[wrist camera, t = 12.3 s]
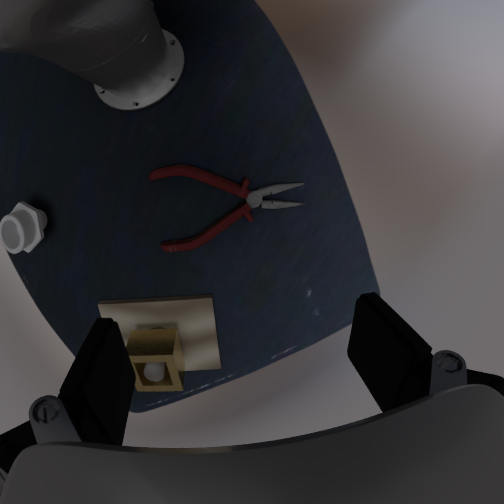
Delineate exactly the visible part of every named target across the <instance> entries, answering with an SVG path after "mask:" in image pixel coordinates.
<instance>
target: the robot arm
mask: <svg viewBox="0 0 504 504" xmlns="http://www.w3.org/2000/svg"><path fill="white" fill-rule="evenodd" d="M153 7H154V3H153V2H151V1H150V0H0V52H16V53H26V54H31V55H35V56H38V57H41V58H44V59H46V60H49V61H51V62H53V63H55V64H57V65H59V66H61V67H63V68H65V69H67V70H69V71H71V72H73V73H75V74H77V75H79V76H81V77H82V78H84V79H86V80H88V81H90V82H92V83H94V87H95V91H96V92H97V94H98V96H99V97H100V99H101V100H102V101H103V102H104V103H106V104H107V105H109V106H111V107H113V108H115V109H119V110H123V111H135V110H141V109H144V108H148V107H150V106H152V105H154V104H156V103H158V102H159V101H161V100H162V99H164V98H165V97H166V96H167V95H168V94H169V93H170V92H172V90H173V89H174V88H175V86H176V85H177V84H178V82H179V80H180V78H181V76H182V73H183V70H184V63H185V59H184V52H183V48H182V46H181V44H180V42H179V41H178V39H177V38H176V37H175V36H174V35H173V34H171V33H170V32H168V31H166V30H164V29H161V26H160V24H159V21H158V19H157V16H156V14H155V11H154V9H153ZM173 43H174V45H172V44H173ZM172 79H175V80H174V81H173V82H172V81H171V80H172ZM104 91H105V93H104V94H103V92H104ZM136 103H139V105H138V106H136ZM431 350H432V348H431V346H430V345H428V343H427V342H425V340H424V339H423V338H422V337H421V336H420V335H419V334H418V333H417V332H416V331H415V330H414V329H413V328H412V327H411V326H410V325H409V324H408V323H407V322H406V321H404V320H403V318H401V317H400V316H399V315H398V314H397V313H396V312H395V311H394V310H393V309H392V308H391V307H390V306H389V305H388V304H387V303H386V302H385V301H384V300H383V299H382V298H381V297H380V296H379V295H377V294H376V293H375V292H372V293H366V294H362V295H361V296H360V298H358V299H357V300H356V305H355V311H354V317H353V323H352V329H351V334H350V340H349V344H348V349H347V354H348V357H349V359H350V361H351V362H352V364H353V365H354V367H355V369H356V370H357V372H358V373H359V375H360V377H361V378H362V380H363V381H364V383H365V385H366V386H367V388H368V389H369V391H370V392H371V394H372V396H373V398H374V399H375V401H376V402H377V404H378V405H379V407H380V409H381V411H382V412H383V413H380V414H377V415H375V416H372V417H369V418H366V419H362V420H359V421H356V422H353V423H349V424H346V425H342V426H339V427H335V428H331V429H327V430H323V431H319V432H314V433H310V434H306V435H301V436H296V437H291V438H285V439H279V440H274V441H267V442H260V443H253V444H244V445H234V446H223V447H207V448H149V447H148V448H147V447H131V446H122V443H123V438H124V433H125V427H126V422H127V417H128V413H129V408H130V404H131V399H132V395H133V391H134V386H135V382H136V374H135V371H134V368H133V365H132V363H131V360H130V357H129V355H128V352H127V349H126V346H125V343H124V340H123V337H122V334H121V331H120V328H119V325H118V323H117V322H116V321H114V320H113V319H112V318H97V319H96V321H95V323H94V325H93V326H92V328H91V330H90V332H89V334H88V335H87V337H86V339H85V341H84V343H83V345H82V347H81V348H80V350H79V352H78V354H77V356H76V358H75V360H74V362H73V364H72V366H71V368H70V370H69V372H68V374H67V376H66V378H65V380H64V382H63V384H62V386H61V389H60V393H59V395H58V397H55V396H51V395H46V396H43V397H40V398H38V399H37V400H36V401H35V402H34V403H33V404H32V405H31V407H30V410H29V419H30V420H29V421H27V422H25V423H23V424H21V425H19V426H17V427H16V428H13V429H11V430H9V431H7V432H5V433H3V434H1V435H0V504H504V378H503V377H500V376H498V375H493V374H488V373H483V372H478V371H474V370H469V369H466V363H465V360H464V359H463V357H461V356H460V355H459V354H457V353H455V352H453V351H449V350H442V351H439V352H437V353H435V354H434V356H433V355H432V354H431Z"/></svg>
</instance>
